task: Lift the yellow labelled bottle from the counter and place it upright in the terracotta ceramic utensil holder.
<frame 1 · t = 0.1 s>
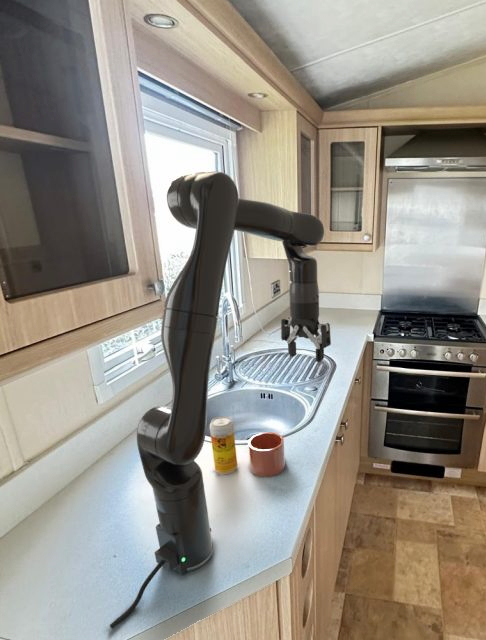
hand: (306, 358, 110), 29 cm above the worktop, tool pointing down, fingers open, 8 cm apart
holder: (267, 465, 114), on the worktop
yellow labelled bottle: (226, 469, 113), on the worktop
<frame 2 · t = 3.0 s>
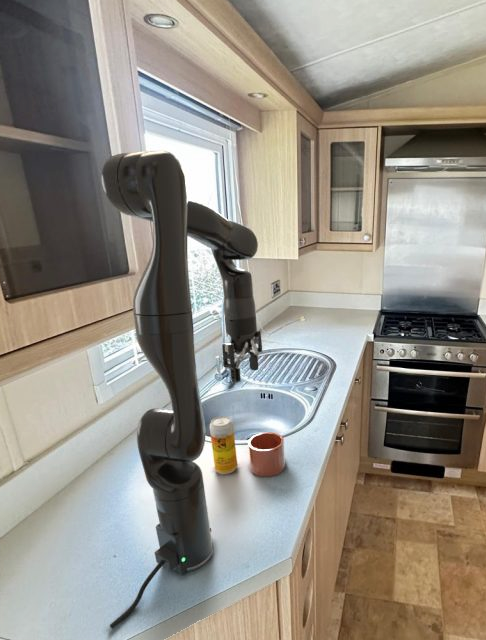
hand: (245, 375, 105), 27 cm above the worktop, tool pointing down, fingers open, 8 cm apart
nothing on the worktop moved.
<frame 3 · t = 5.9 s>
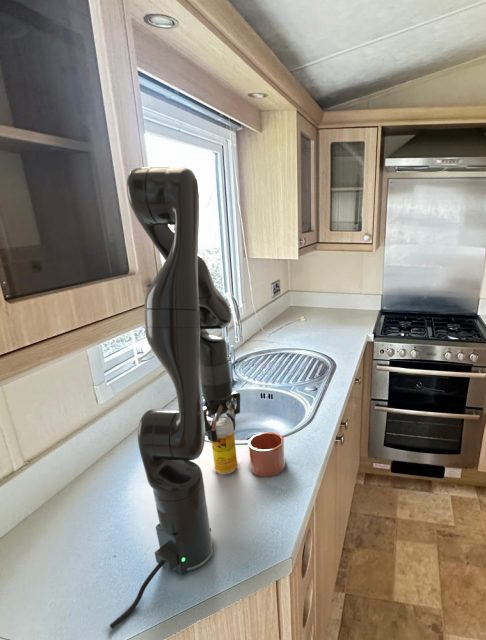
hand: (222, 435, 109), 11 cm above the worktop, tool pointing down, fingers closed on yellow labelled bottle, 6 cm apart
yellow labelled bottle: (226, 469, 113), on the worktop, touching gripper
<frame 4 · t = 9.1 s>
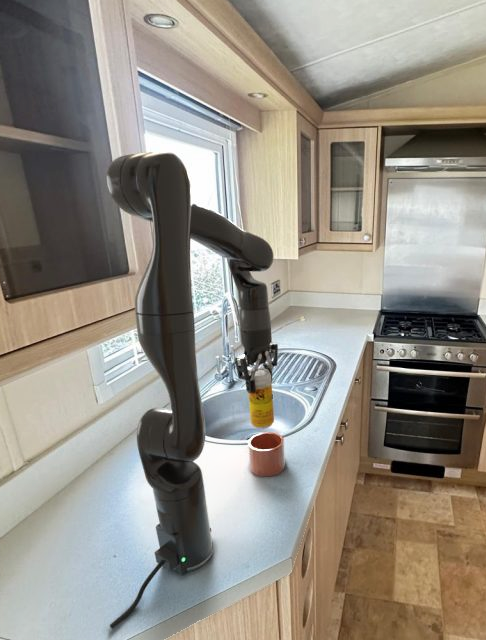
hand: (260, 387, 105), 24 cm above the worktop, tool pointing down, fingers closed on yellow labelled bottle, 6 cm apart
yellow labelled bottle: (262, 424, 109), point 13 cm above the worktop, touching gripper
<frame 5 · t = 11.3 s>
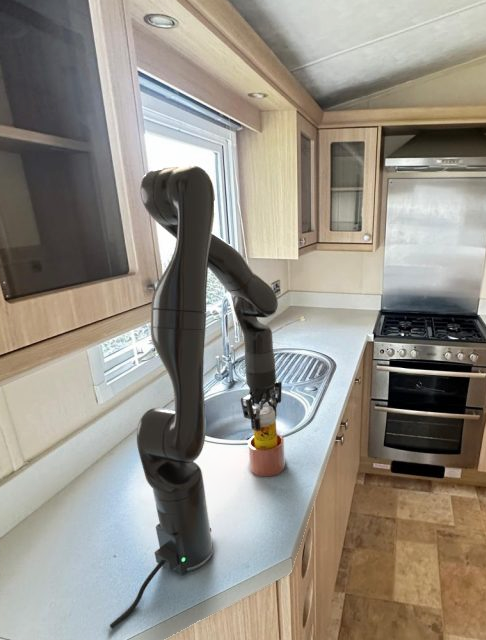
hand: (264, 424, 109), 13 cm above the worktop, tool pointing down, fingers closed on yellow labelled bottle, 6 cm apart
yellow labelled bottle: (267, 458, 113), point 2 cm above the worktop, touching gripper
when the fingers open (11 cm above the worktop, at t = 12.5 s): yellow labelled bottle stays where it is, resting on holder.
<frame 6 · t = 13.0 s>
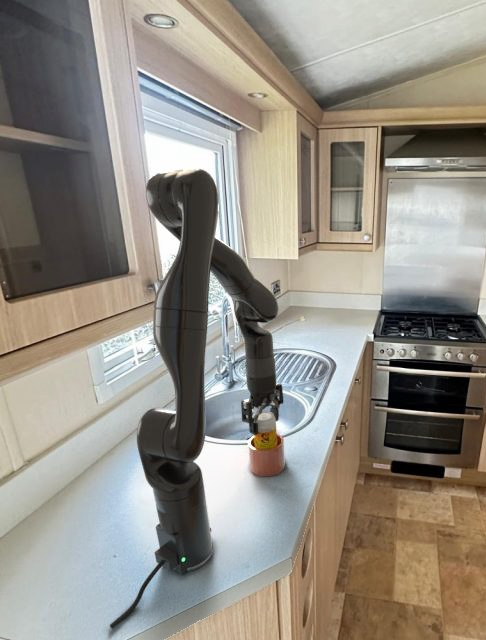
hand: (264, 427, 109), 12 cm above the worktop, tool pointing down, fingers open, 8 cm apart
yellow labelled bottle: (267, 464, 114), point 1 cm above the worktop, touching holder
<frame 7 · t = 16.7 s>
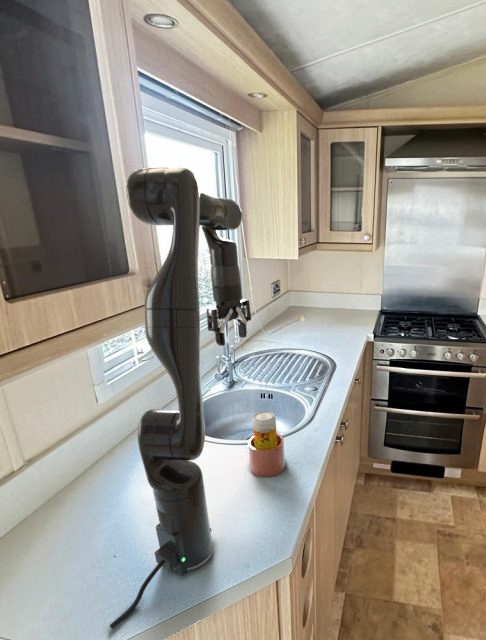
hand: (232, 341, 113), 33 cm above the worktop, tool pointing down, fingers open, 8 cm apart
nothing on the worktop moved.
at the end: yellow labelled bottle 0.1 cm off-centre in the holder, point 0.6 cm above the holder's base; yellow labelled bottle tilted 0°; the gripper is holding nothing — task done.
